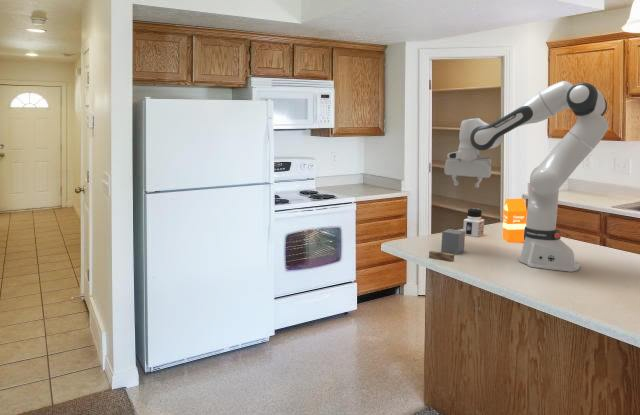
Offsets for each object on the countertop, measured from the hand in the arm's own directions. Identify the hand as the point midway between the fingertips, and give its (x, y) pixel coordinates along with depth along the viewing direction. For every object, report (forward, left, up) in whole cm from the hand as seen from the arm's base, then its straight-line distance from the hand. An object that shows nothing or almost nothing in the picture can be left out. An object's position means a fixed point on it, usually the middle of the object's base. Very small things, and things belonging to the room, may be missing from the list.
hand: (466, 186), depth 234 cm
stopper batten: (-1, +27, -27) cm, 39 cm away
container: (+4, -26, -27) cm, 38 cm away
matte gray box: (0, +12, -27) cm, 30 cm away
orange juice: (-16, -26, -27) cm, 41 cm away
